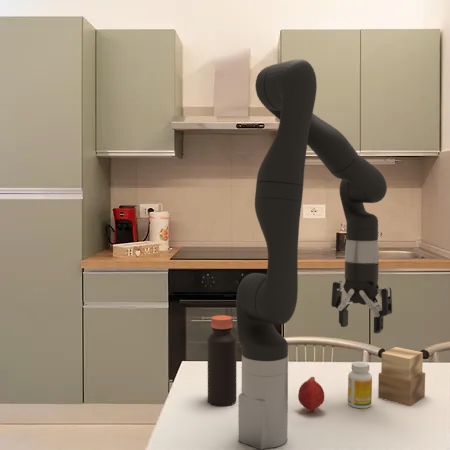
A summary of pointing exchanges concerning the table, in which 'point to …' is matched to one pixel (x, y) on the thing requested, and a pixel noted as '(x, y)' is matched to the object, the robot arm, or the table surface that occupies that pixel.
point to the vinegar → (221, 362)
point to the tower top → (402, 363)
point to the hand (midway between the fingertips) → (360, 329)
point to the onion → (311, 394)
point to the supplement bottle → (360, 385)
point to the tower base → (401, 389)
